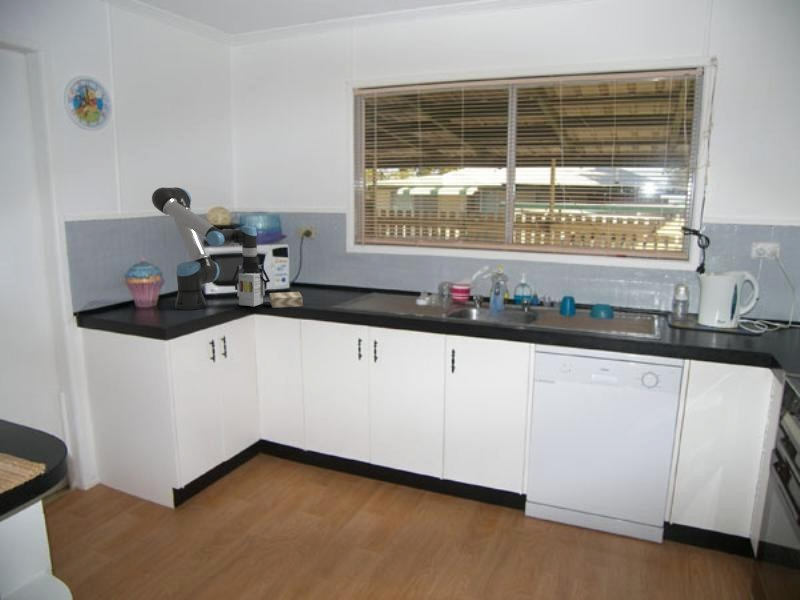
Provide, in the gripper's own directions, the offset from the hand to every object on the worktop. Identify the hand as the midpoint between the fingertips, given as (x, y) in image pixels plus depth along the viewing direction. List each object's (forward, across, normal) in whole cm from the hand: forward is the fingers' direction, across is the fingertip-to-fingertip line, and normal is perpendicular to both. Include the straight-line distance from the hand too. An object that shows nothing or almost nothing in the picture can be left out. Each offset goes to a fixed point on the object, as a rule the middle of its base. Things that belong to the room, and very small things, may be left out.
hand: (251, 295), depth 301 cm
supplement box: (+5, 0, 0) cm, 5 cm away
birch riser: (+5, +18, 0) cm, 19 cm away
